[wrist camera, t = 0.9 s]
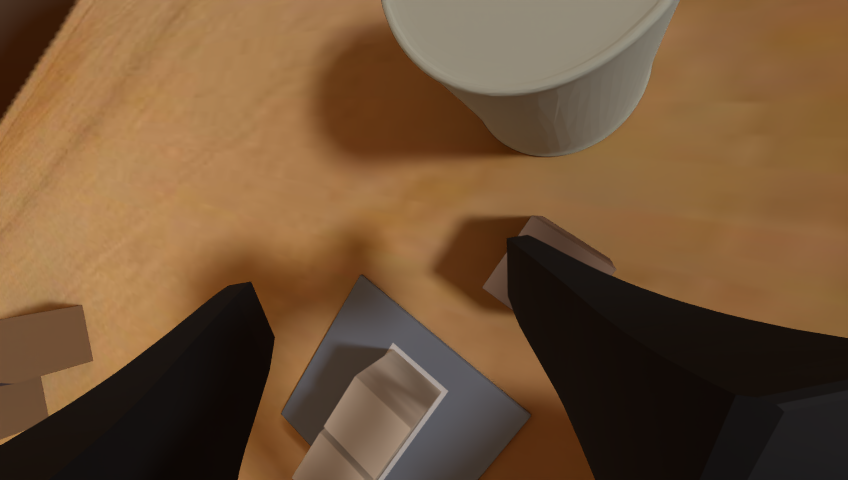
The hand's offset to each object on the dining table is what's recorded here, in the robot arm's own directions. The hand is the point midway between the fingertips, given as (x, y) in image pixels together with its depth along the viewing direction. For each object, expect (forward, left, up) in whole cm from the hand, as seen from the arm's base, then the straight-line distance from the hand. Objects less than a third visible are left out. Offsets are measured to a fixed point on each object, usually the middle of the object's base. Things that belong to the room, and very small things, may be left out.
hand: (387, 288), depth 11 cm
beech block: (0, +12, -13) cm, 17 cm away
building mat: (0, +14, -13) cm, 19 cm away
